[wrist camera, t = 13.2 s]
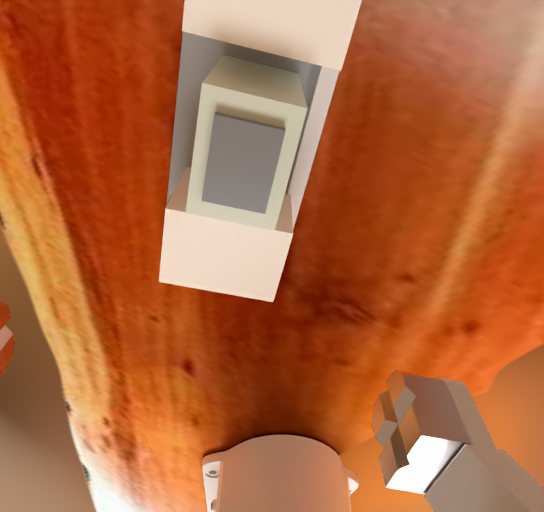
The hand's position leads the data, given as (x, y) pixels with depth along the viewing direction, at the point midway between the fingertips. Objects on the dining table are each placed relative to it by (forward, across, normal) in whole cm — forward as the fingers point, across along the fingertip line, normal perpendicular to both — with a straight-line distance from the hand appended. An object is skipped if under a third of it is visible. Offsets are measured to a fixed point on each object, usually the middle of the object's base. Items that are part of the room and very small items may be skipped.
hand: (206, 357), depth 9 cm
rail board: (+21, 0, 0) cm, 21 cm away
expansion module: (+20, 0, 0) cm, 20 cm away
